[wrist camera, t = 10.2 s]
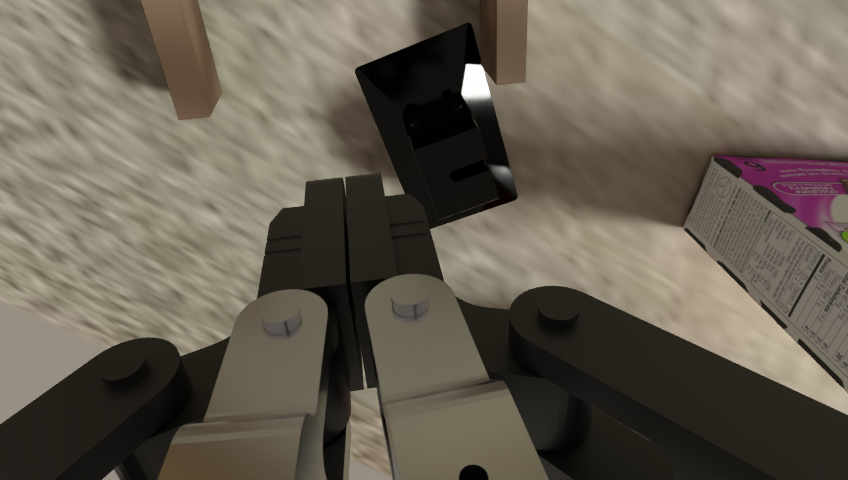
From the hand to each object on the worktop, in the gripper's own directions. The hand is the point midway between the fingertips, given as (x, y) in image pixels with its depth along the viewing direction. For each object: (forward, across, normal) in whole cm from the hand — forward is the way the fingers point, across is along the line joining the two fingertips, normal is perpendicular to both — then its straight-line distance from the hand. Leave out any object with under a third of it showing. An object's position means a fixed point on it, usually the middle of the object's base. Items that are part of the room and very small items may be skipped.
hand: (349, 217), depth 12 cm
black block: (+16, -4, +5) cm, 17 cm away
